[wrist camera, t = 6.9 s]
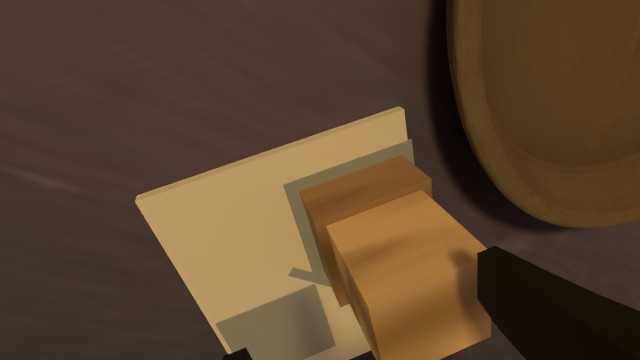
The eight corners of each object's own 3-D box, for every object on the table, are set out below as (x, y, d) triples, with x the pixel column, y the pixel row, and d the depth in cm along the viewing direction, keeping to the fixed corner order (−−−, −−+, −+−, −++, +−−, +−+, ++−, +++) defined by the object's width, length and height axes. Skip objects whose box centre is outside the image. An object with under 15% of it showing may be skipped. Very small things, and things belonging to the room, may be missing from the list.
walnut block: (412, 236, 23) (438, 267, 20) (324, 271, 22) (340, 307, 20) (401, 154, 20) (431, 178, 17) (299, 191, 19) (314, 222, 17)
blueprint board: (427, 318, 28) (432, 325, 28) (255, 391, 27) (256, 401, 26) (402, 105, 19) (408, 108, 19) (136, 195, 17) (134, 202, 17)
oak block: (429, 262, 20) (490, 336, 16) (346, 297, 19) (386, 383, 15) (421, 189, 17) (492, 253, 13) (325, 226, 17) (367, 305, 13)
